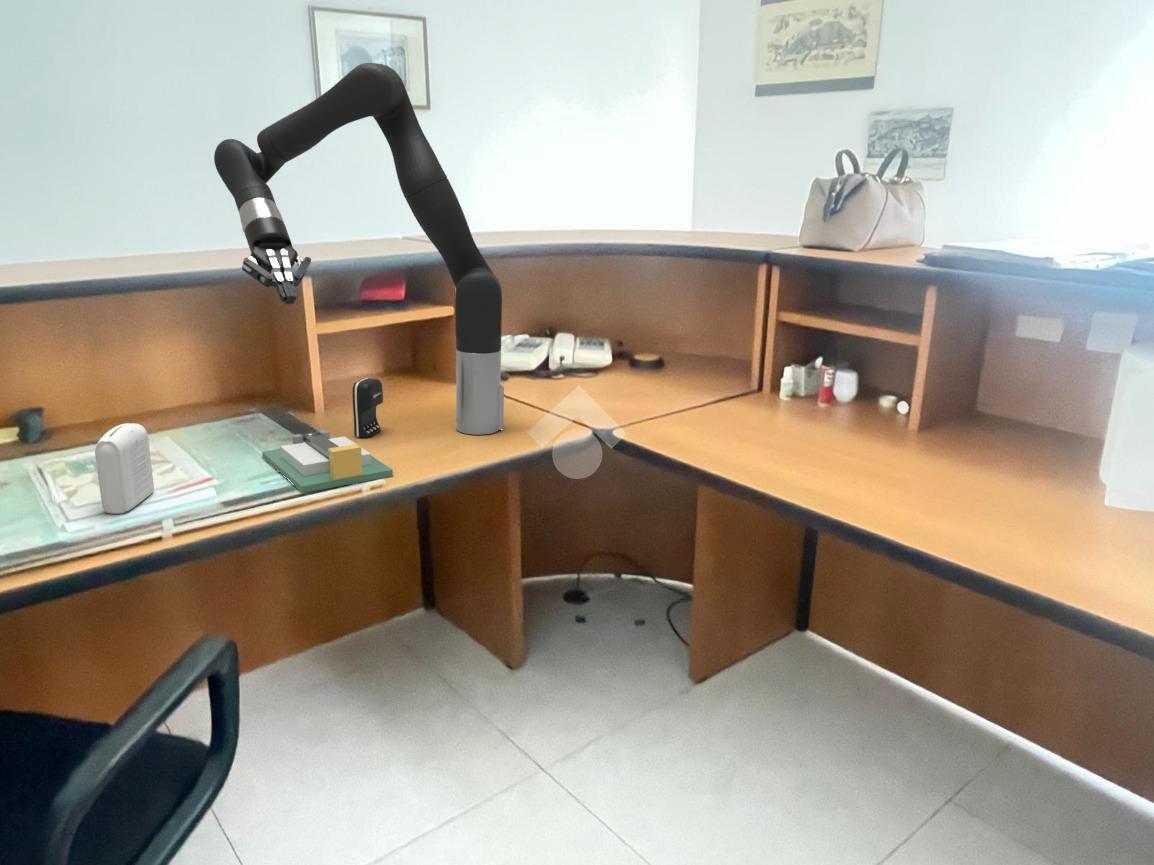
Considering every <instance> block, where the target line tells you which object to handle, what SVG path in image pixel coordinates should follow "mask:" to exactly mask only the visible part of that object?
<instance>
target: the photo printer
mask: <svg viewBox="0 0 1154 865" xmlns="http://www.w3.org/2000/svg"><path fill="white" fill-rule="evenodd" d="M94 455H95V463H96V471H97V480H98V486H99V493H100V501H101V507H102V510H103V511H104V512H106V514H116V515H117V514H124V513H126V512H129V511H130V510H132V509H134V508H135V507H136V506H137V505H139V504H140V503H141V502H142V501H144V500H145V499H147V498H148V497H149V496H150V495H152V494H153V493H154V490H155V486H154V477H153V468H152V459H151V458H152V457H151V451H150V442H149V434H148V431H147V430H146V428H145V427H144V426H143V425H141V424H139V423H122V424H119V425H116V426H114V427H112V428H111V429H109V430H108V431H107V432H105V433H104V434H103V436H101V438H99V441H98V442H97V443H96V445H95V448H94Z"/></svg>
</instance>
